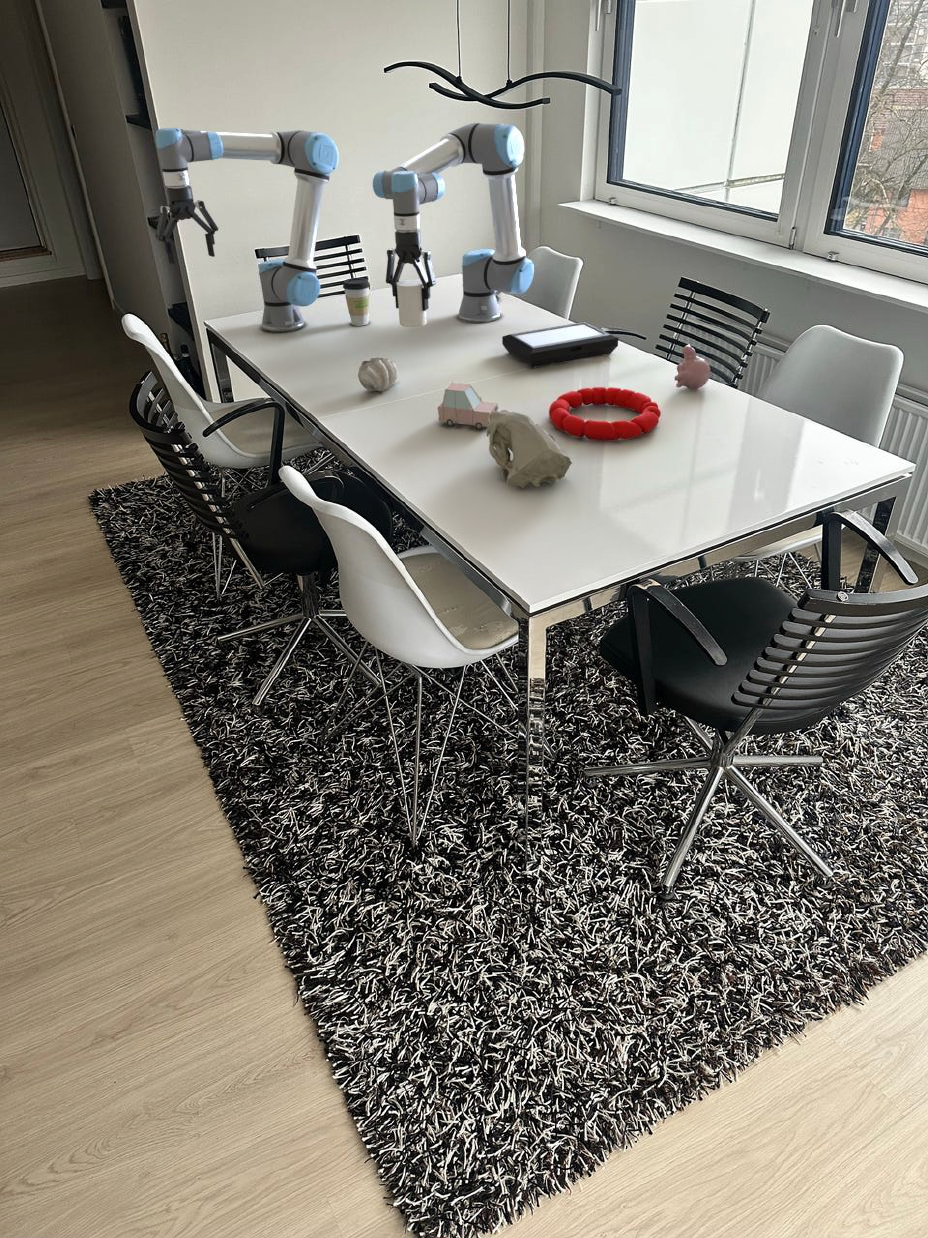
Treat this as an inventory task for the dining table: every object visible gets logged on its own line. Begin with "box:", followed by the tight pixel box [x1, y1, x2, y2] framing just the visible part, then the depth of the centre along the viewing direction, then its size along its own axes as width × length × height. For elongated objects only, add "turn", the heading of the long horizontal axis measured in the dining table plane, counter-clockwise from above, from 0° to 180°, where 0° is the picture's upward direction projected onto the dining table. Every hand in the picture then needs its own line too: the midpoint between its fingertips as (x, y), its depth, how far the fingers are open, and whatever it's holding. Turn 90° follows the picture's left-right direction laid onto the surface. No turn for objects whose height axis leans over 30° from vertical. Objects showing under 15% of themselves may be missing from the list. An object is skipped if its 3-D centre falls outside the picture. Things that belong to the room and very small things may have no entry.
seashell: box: [357, 357, 398, 392], centre depth 266 cm, size 10×15×10 cm
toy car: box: [437, 382, 499, 431], centre depth 243 cm, size 9×15×10 cm, turn 70°
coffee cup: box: [342, 277, 371, 327], centre depth 323 cm, size 10×10×15 cm
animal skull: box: [485, 409, 573, 489], centre depth 216 cm, size 17×25×20 cm
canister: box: [397, 278, 428, 328], centre depth 274 cm, size 8×8×12 cm
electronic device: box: [501, 321, 619, 369], centre depth 290 cm, size 32×6×20 cm
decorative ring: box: [548, 386, 661, 442], centre depth 242 cm, size 7×30×30 cm
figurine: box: [674, 344, 711, 390], centre depth 259 cm, size 9×11×12 cm
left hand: (192, 259), depth 282 cm, fingers open, 13 cm apart
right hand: (412, 308), depth 275 cm, fingers closed on canister, 8 cm apart
